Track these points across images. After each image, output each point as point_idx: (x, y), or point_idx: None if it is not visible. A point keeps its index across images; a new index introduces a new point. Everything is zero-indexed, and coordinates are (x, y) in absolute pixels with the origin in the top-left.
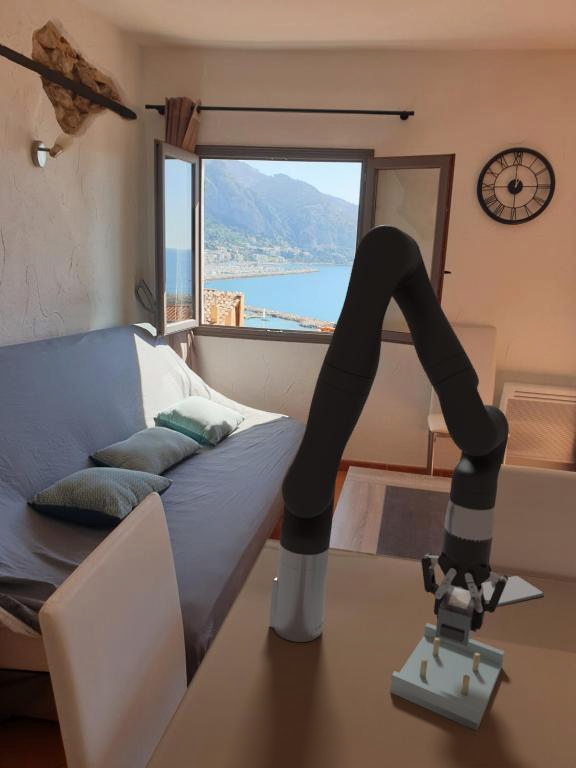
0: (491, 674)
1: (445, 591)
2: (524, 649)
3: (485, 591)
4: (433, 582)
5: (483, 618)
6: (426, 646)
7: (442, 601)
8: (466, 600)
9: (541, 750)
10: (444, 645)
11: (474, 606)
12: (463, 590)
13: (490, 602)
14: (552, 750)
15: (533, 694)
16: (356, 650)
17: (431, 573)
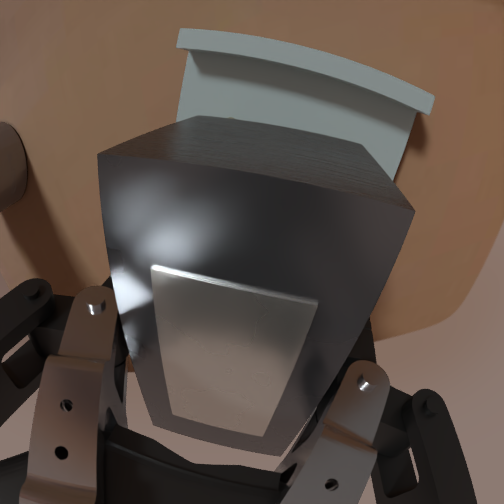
0: (385, 161)
1: (119, 326)
2: (467, 11)
3: None
4: (36, 331)
5: (369, 331)
6: (202, 99)
7: (146, 398)
8: (261, 394)
9: (423, 314)
10: (252, 69)
11: (306, 420)
12: (229, 303)
13: (377, 475)
14: (439, 309)
15: (464, 179)
16: (79, 170)
17: (2, 394)
